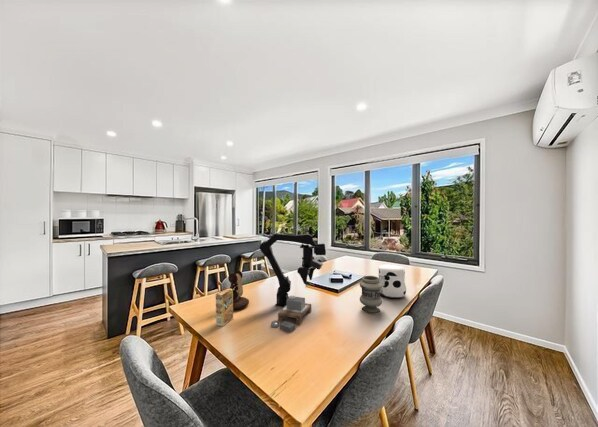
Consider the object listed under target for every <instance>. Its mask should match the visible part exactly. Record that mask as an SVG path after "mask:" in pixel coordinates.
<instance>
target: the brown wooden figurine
mask: <svg viewBox="0 0 598 427" xmlns="http://www.w3.org/2000/svg"><path fill="white" fill-rule="evenodd" d="M227 278H228V282H230V286H229V289H233V310H237V309H238V310H239V311H241V310H242V308H245V307H246V306H249V304H250V299H248V298H246V297H244V296H243V293H244V288H243V282H242V278H243V272H242V271H240V270H238V269H237V270H236V271H234V272H233V273H229V275H228V277H227Z"/></svg>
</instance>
